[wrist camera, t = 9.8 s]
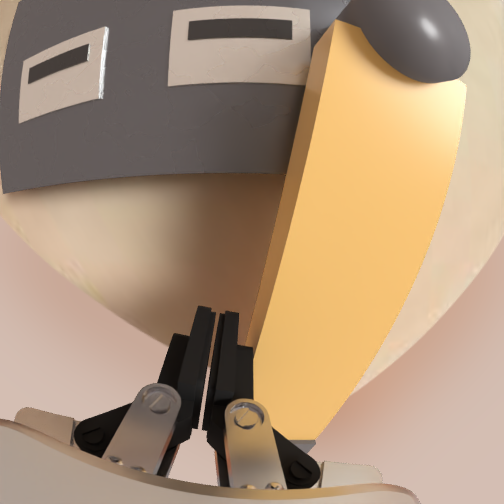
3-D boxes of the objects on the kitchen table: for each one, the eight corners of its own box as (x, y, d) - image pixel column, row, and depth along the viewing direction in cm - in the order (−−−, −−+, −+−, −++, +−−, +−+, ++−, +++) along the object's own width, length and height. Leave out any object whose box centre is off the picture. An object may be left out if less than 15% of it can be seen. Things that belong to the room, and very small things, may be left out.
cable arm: (317, 4, 8) (351, -52, 3) (414, 43, 8) (478, 19, 4) (229, 394, 17) (225, 455, 13) (298, 400, 18) (307, 459, 13)
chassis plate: (364, -34, 8) (377, -50, 6) (370, 176, 13) (389, 184, 11) (34, 7, 8) (16, 1, 5) (22, 186, 13) (0, 195, 11)
